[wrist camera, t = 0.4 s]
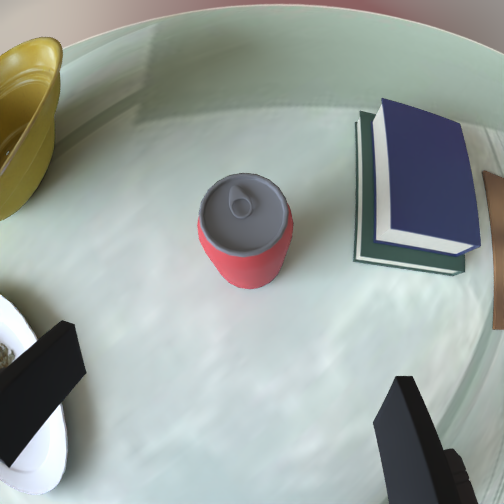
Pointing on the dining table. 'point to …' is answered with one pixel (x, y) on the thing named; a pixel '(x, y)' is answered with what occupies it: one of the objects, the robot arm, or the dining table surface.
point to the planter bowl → (27, 118)
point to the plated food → (53, 430)
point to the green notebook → (365, 219)
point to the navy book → (422, 182)
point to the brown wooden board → (496, 241)
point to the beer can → (245, 229)
